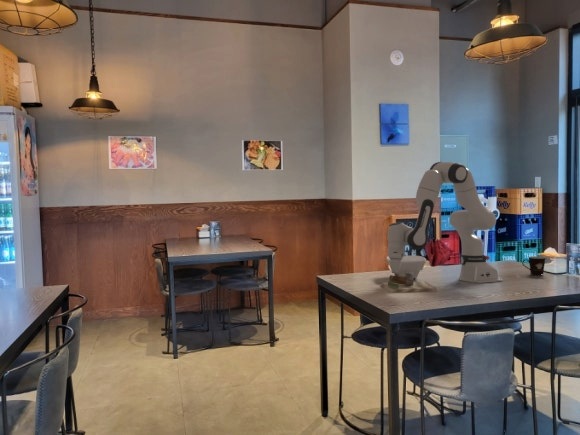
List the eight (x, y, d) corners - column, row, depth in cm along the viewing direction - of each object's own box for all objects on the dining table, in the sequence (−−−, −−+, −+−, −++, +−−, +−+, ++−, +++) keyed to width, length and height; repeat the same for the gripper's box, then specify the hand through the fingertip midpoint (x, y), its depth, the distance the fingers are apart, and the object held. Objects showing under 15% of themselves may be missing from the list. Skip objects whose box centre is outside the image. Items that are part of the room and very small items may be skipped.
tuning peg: (413, 283, 245) (413, 272, 245) (413, 285, 241) (413, 273, 241) (390, 283, 248) (390, 271, 248) (389, 284, 245) (389, 273, 244)
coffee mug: (545, 273, 273) (545, 256, 273) (544, 276, 266) (544, 258, 266) (523, 272, 280) (523, 255, 279) (522, 274, 272) (522, 257, 272)
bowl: (429, 281, 260) (429, 260, 259) (389, 281, 262) (389, 261, 261) (421, 274, 282) (421, 255, 282) (384, 274, 284) (384, 255, 283)
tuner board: (425, 284, 252) (425, 276, 252) (436, 291, 234) (436, 283, 234) (381, 285, 251) (381, 278, 251) (389, 292, 233) (389, 284, 233)
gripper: (391, 250, 258) (391, 275, 258) (388, 255, 238) (388, 282, 239) (403, 250, 256) (403, 275, 257) (401, 255, 236) (401, 282, 237)
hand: (396, 279), depth 247 cm, fingers closed
